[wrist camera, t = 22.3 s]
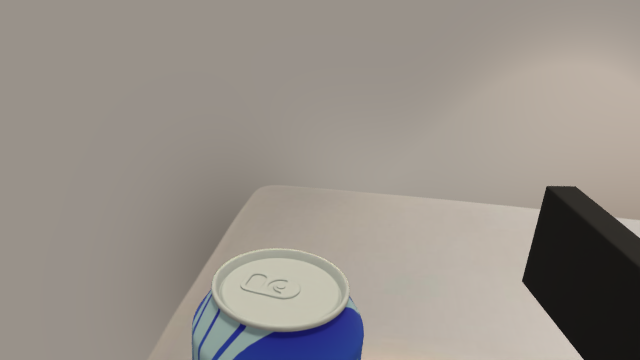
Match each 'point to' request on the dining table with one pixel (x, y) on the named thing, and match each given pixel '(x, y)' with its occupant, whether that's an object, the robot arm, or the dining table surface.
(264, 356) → the beer can
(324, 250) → the dining table surface
